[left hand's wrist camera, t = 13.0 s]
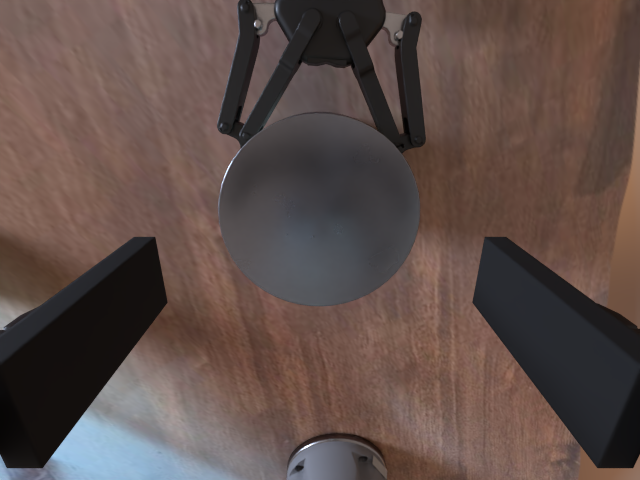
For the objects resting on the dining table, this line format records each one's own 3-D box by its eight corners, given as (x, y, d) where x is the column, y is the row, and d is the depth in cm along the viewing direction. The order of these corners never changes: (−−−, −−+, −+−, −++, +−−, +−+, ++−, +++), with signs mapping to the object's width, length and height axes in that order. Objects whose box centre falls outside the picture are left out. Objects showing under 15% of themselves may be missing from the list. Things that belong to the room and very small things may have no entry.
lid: (428, 123, 19) (441, 126, 17) (392, 295, 23) (399, 314, 21) (229, 100, 19) (217, 100, 17) (227, 279, 23) (218, 297, 21)
